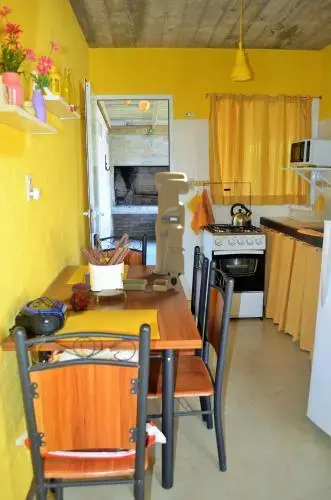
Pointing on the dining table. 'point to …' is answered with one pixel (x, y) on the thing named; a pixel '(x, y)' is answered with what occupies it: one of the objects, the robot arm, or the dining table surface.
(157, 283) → the walnut block
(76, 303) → the dragon fruit
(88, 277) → the medicine box
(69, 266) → the dining table surface
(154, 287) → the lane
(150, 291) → the pads
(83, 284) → the cupcake
